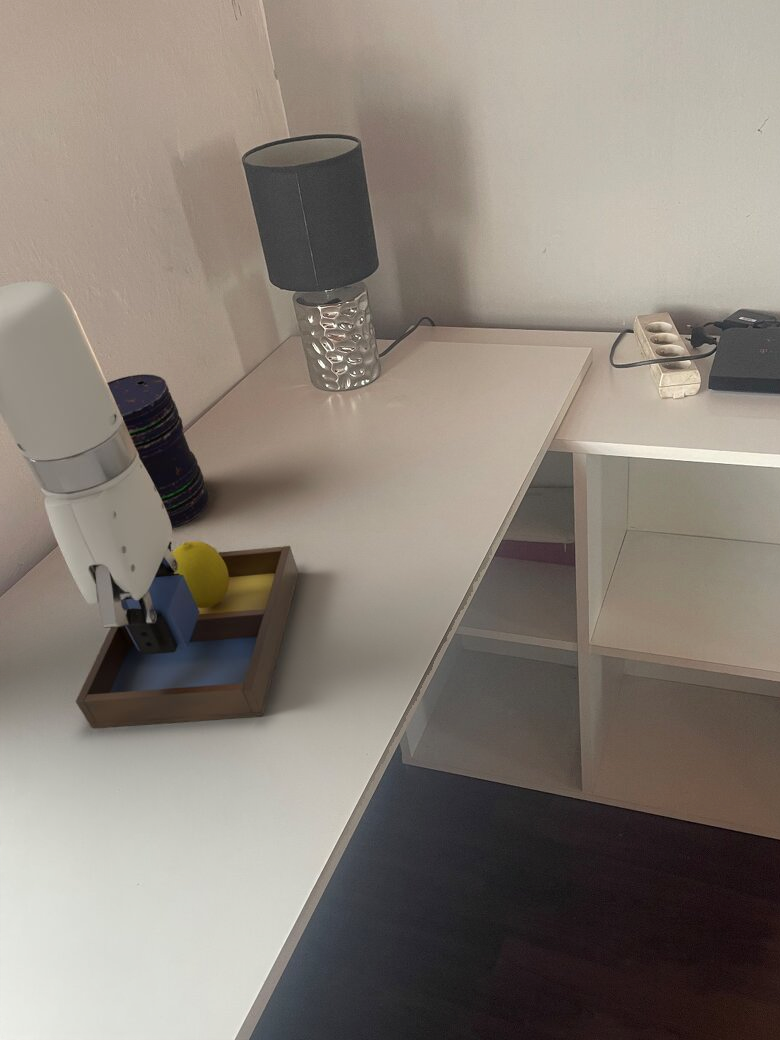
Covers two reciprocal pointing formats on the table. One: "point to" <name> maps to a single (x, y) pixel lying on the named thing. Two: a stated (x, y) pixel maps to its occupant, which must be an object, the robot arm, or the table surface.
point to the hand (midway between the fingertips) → (167, 628)
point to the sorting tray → (201, 654)
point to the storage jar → (161, 444)
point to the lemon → (202, 572)
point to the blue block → (172, 606)
